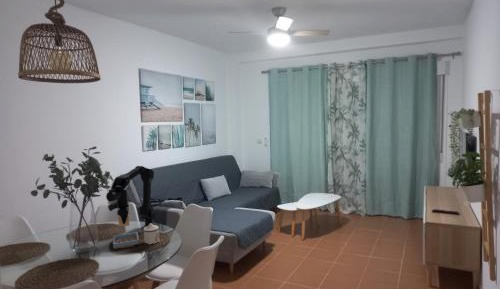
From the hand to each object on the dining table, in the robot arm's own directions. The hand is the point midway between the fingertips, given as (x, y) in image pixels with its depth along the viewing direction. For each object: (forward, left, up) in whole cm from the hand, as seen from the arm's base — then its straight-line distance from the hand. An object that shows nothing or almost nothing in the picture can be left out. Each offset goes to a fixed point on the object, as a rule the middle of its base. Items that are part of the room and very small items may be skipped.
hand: (124, 222), depth 206 cm
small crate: (0, 0, -2) cm, 2 cm away
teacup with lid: (+10, +15, -12) cm, 22 cm away
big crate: (+6, 0, -11) cm, 13 cm away
